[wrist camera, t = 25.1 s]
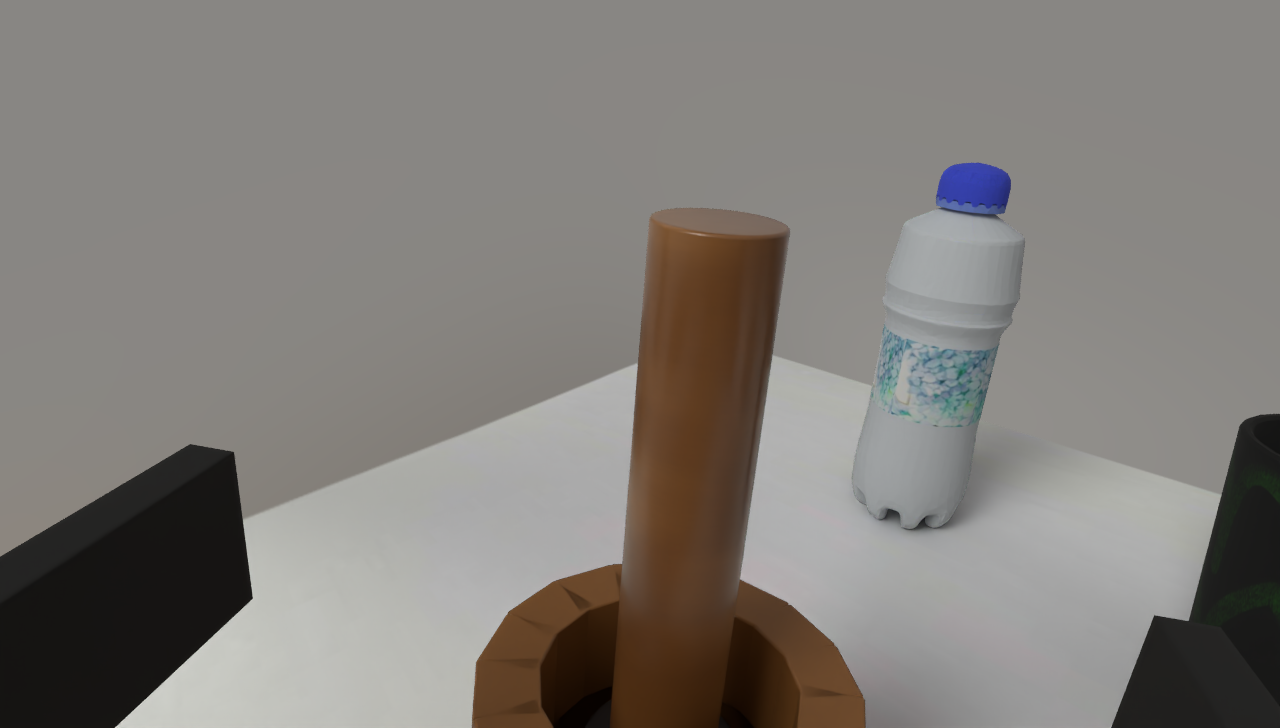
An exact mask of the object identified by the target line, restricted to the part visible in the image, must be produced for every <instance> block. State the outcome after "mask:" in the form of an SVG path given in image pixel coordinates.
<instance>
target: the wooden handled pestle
mask: <svg viewBox="0 0 1280 728" xmlns="http://www.w3.org/2000/svg"><path fill="white" fill-rule="evenodd" d="M789 237H790V230H789V228H788V226H787V225H785V224H783V223H782V222H779V221H777V220H774V219H771V218H768V217H764V216H760V215H755V214H750V213H744V212H738V211H731V210H721V209H708V208H675V209H667V210H661V211H658V212H655V213H653V214H652V215H651V217H650V219H649V232H648V244H647V256H646V269H645V283H644V294H643V309H642V321H641V333H640V345H639V358H638V371H637V383H636V396H635V409H634V422H633V434H632V447H631V460H630V472H629V485H628V498H627V511H626V523H625V536H624V549H623V561H622V574H621V587H620V600H619V612H618V625H617V638H616V650H615V663H614V676H613V689H612V699H611V700H609V701H608V702H606V703H605V704H604V705H602V706H601V707H600V708H599V709H598V710H597V711H596V712H595V713H594V714H593V715H592V716H591V718H590V719H589V721H588V722H587V724H586V726H585V728H731V727H730V726H729V725H728V723H727V722H726V721H725V720H724V719H723V718H722V717H721V715H720V713H721V706H722V699H723V692H724V685H725V678H726V671H727V664H728V658H729V651H730V644H731V637H732V630H733V623H734V616H735V609H736V602H737V595H738V589H739V582H740V575H741V568H742V561H743V554H744V547H745V540H746V533H747V526H748V520H749V513H750V506H751V499H752V492H753V485H754V478H755V471H756V464H757V458H758V451H759V444H760V437H761V430H762V423H763V416H764V409H765V402H766V395H767V389H768V382H769V375H770V368H771V361H772V354H773V346H774V340H775V333H776V326H777V320H778V312H779V306H780V298H781V291H782V284H783V278H784V271H785V264H786V257H787V251H788V243H789Z"/></svg>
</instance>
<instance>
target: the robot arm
mask: <svg viewBox="0 0 1280 728" xmlns="http://www.w3.org/2000/svg"><path fill="white" fill-rule="evenodd" d="M252 599H253V596H252V589H251V581H250V573H249V565H248V558H247V550H246V542H245V534H244V527H243V519H242V511H241V503H240V495H239V488H238V480H237V472H236V465H235V457H234V452H231V451H225V450H220V449H214V448H208V447H203V446H197V445H191V444H190V445H188V446H186V447H185V448H183V449H181V450H180V451H178V452H176V453H175V454H173V455H171V456H170V457H168V458H166V459H165V460H163V461H161V462H160V463H158V464H156V465H154V466H153V467H151V468H149V469H148V470H146V471H144V472H143V473H141V474H139V475H137V476H136V477H134V478H132V479H131V480H129V481H127V482H126V483H124V484H122V485H121V486H119V487H117V488H116V489H114V490H112V491H111V492H109V493H107V494H105V495H104V496H102V497H100V498H99V499H97V500H95V501H94V502H92V503H90V504H89V505H87V506H85V507H83V508H82V509H80V510H78V511H77V512H75V513H73V514H72V515H70V516H68V517H67V518H65V519H63V520H61V521H60V522H58V523H56V524H55V525H53V526H51V527H50V528H48V529H46V530H45V531H43V532H41V533H40V534H38V535H36V536H34V537H33V538H31V539H29V540H28V541H26V542H24V543H23V544H21V545H19V546H18V547H16V548H14V549H12V550H11V551H9V552H7V553H6V554H4V555H2V556H1V557H0V728H115V727H116V726H117V725H118V724H119V723H120V722H121V721H122V720H123V719H125V718H126V717H127V716H128V715H129V714H130V713H131V712H132V711H133V710H134V709H135V708H136V707H137V706H138V705H140V704H141V703H142V702H143V701H144V700H145V699H146V698H147V697H148V696H149V695H150V694H151V693H152V692H153V691H154V690H156V689H157V688H158V687H159V686H160V685H161V684H162V683H163V682H164V681H165V680H166V679H167V678H168V677H169V676H171V675H172V674H173V673H174V672H175V671H176V670H177V669H178V668H179V667H180V666H181V665H182V664H183V663H184V662H185V661H187V660H188V659H189V658H190V657H191V656H192V655H193V654H194V653H195V652H196V651H197V650H198V649H199V648H200V647H202V646H203V645H204V644H205V643H206V642H207V641H208V640H209V639H210V638H211V637H212V636H213V635H214V634H215V633H216V632H218V631H219V630H220V629H221V628H222V627H223V626H224V625H225V624H226V623H227V622H228V621H229V620H230V619H231V618H233V617H234V616H235V615H236V614H237V613H238V612H239V611H240V610H241V609H242V608H243V607H244V606H245V605H246V604H247V603H249V602H250V601H251V600H252ZM1111 728H1280V706H1279V705H1278V704H1277V702H1276V701H1275V700H1274V698H1273V697H1272V696H1271V694H1270V693H1269V691H1268V690H1267V689H1266V687H1265V686H1264V685H1263V683H1262V682H1261V681H1260V679H1259V678H1258V677H1257V675H1256V674H1255V673H1254V671H1253V670H1252V669H1251V667H1250V666H1249V665H1248V663H1247V662H1246V661H1245V659H1244V658H1243V657H1242V655H1241V654H1240V653H1239V651H1238V650H1237V649H1236V647H1235V646H1234V645H1233V643H1232V642H1231V641H1230V639H1229V638H1228V637H1227V635H1226V634H1225V633H1224V631H1223V630H1222V629H1221V627H1217V626H1211V625H1206V624H1200V623H1194V622H1189V621H1183V620H1178V619H1172V618H1166V617H1161V616H1155V615H1154V618H1153V620H1152V623H1151V625H1150V628H1149V631H1148V633H1147V636H1146V638H1145V641H1144V644H1143V646H1142V649H1141V652H1140V654H1139V657H1138V659H1137V662H1136V665H1135V667H1134V670H1133V672H1132V675H1131V678H1130V680H1129V683H1128V685H1127V688H1126V691H1125V693H1124V696H1123V699H1122V701H1121V704H1120V706H1119V709H1118V712H1117V714H1116V717H1115V719H1114V722H1113V725H1112V727H1111Z"/></svg>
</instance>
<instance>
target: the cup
mask: <svg viewBox="0 0 1280 728" xmlns="http://www.w3.org/2000/svg"><path fill="white" fill-rule="evenodd" d="M1189 622H1194V623H1200V624H1206V625H1211V626H1217V627H1221V629H1222V630H1223V631H1224V633H1225V634H1226V635H1227V637H1228V638H1229V639H1230V641H1231V642H1232V643H1233V645H1234V646H1235V647H1236V649H1237V650H1238V651H1239V653H1240V654H1241V655H1242V657H1243V658H1244V659H1245V661H1246V662H1247V663H1248V665H1249V666H1250V667H1251V669H1252V670H1253V671H1254V673H1255V674H1256V675H1257V677H1258V678H1259V679H1260V681H1261V682H1262V683H1263V685H1264V686H1265V687H1266V689H1267V690H1268V691H1269V693H1270V694H1271V696H1272V697H1273V698H1274V700H1275V701H1276V702H1277V704H1278V705H1279V706H1280V414H1267V415H1259V416H1255V417H1252V418H1249V419H1246V420H1245V421H1244V422H1243V423H1242V424H1241V425H1240V427H1239V431H1238V435H1237V438H1236V442H1235V446H1234V450H1233V454H1232V458H1231V461H1230V465H1229V469H1228V473H1227V477H1226V480H1225V484H1224V488H1223V492H1222V496H1221V500H1220V503H1219V507H1218V511H1217V515H1216V519H1215V523H1214V526H1213V530H1212V534H1211V538H1210V542H1209V546H1208V549H1207V553H1206V557H1205V561H1204V565H1203V569H1202V572H1201V576H1200V580H1199V584H1198V588H1197V592H1196V595H1195V599H1194V603H1193V607H1192V611H1191V615H1190V618H1189Z"/></svg>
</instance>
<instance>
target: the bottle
mask: <svg viewBox="0 0 1280 728" xmlns="http://www.w3.org/2000/svg"><path fill="white" fill-rule="evenodd" d="M1010 189H1011V180H1010V177H1009V176H1008V174H1007V173H1006V172H1004V171H1003V170H1002V169H999V168H997V167H994V166H991V165H987V164H982V163H963V164H957V165H953V166H951V167H949V168H948V169H946V170H945V171H944V172H943V174H942V176H941V179H940V182H939V186H938V191H937V197H936V204H937V206H940V207H941V208H939V209H936V210H933V211H931V212H928V213H925V214H922V215H920V216H917V217H914V218H912V219H910V220H908V221H906V222H905V224H904V226H903V229H902V232H901V235H900V238H899V241H898V244H897V247H896V250H895V253H894V256H893V259H892V262H891V265H890V267H889V270H888V273H887V275H886V293H885V296H884V297H883V304H884V307H885V310H886V320H885V324H884V329H883V334H882V339H881V344H880V349H879V355H878V360H877V365H876V370H875V375H874V380H873V385H872V390H871V396H870V401H869V406H868V410H867V414H866V417H865V421H864V424H863V427H862V431H861V434H860V438H859V442H858V446H857V450H856V454H855V459H854V466H853V473H852V484H853V491H854V494H855V496H856V498H857V500H859V501H860V502H861V503H863V504H867V508H868V511H869V513H870V514H871V515H872V516H873V517H875V518H877V519H883V518H884V517H885V516H886V513H887V510H888V508H889V509H892V510H895V511H897V512H898V513H899V514H900V516H901V526H902V527H903V528H906V529H913V528H915V527H916V526H917V525H918V524H919V523H920V521H921V520H922V519H923V518H924V517H925V522H926V524H927V525H928V526H929V527H933V528H936V527H940V526H941V525H943V524H945V523H946V522H947V521H948V520H949V519H950V518H951V517H952V515H953V513H954V512H955V510H956V508H957V506H958V505H959V503H960V501H961V500H962V498H963V496H964V493H965V490H966V488H967V484H968V480H969V474H970V469H971V464H972V458H973V452H974V445H975V439H976V433H977V428H978V424H979V420H980V417H981V413H982V409H983V405H984V401H985V397H986V393H987V389H988V385H989V381H990V377H991V373H992V369H993V366H994V362H995V358H996V354H997V350H998V346H999V341H1000V337H1001V335H1002V333H1003V332H1004V331H1005V330H1006V328H1008V326H1009V325H1010V324H1011V323H1012V313H1013V310H1014V308H1015V306H1016V304H1017V303H1018V301H1019V299H1020V284H1021V272H1022V264H1023V255H1024V247H1025V239H1024V237H1023V236H1022V235H1021V234H1020V233H1019V232H1018V231H1016V230H1015V229H1014V228H1012V227H1011V226H1010V225H1008V224H1007V223H1006V222H1004V221H1003V220H1002V219H1000V218H999V217H998V216H996V215H995V214H1001V213H1005V209H1006V205H1007V202H1008V198H1009V193H1010Z"/></svg>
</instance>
